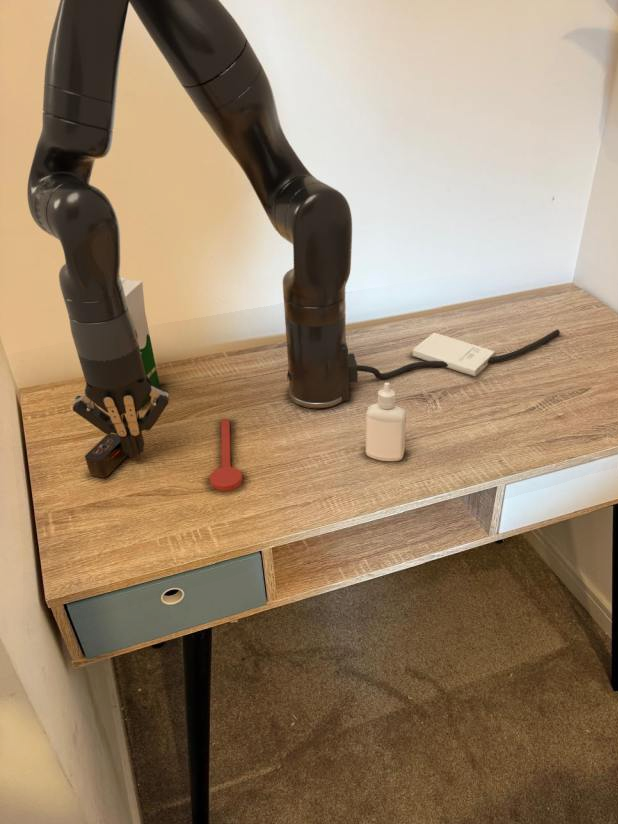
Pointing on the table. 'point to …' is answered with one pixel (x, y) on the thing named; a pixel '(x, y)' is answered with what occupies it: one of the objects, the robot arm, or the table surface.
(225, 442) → the spoon
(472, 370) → the hard drive
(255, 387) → the table surface
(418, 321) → the table surface
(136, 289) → the milk carton
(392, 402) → the eye dropper bottle
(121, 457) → the black gauge box
